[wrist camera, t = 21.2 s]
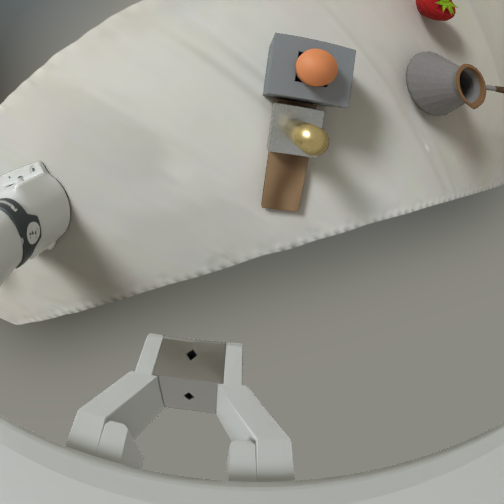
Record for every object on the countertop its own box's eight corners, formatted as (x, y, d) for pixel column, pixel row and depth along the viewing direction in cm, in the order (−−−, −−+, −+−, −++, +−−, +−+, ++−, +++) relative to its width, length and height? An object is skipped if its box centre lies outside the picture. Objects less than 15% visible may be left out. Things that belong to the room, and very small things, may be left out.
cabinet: (262, 95, 39) (267, 92, 30) (269, 47, 35) (275, 32, 26) (330, 106, 40) (352, 109, 31) (337, 60, 36) (360, 51, 27)
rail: (261, 204, 48) (261, 207, 46) (275, 98, 39) (276, 98, 38) (296, 208, 48) (298, 211, 47) (314, 105, 40) (316, 105, 38)
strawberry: (398, -5, 28) (427, -20, 19) (431, -1, 27) (462, -12, 18) (408, 23, 31) (440, 13, 22) (440, 26, 30) (473, 20, 21)
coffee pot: (403, 115, 40) (457, 126, 26) (393, 51, 34) (445, 40, 21) (485, 115, 38) (537, 130, 24) (478, 61, 32) (531, 64, 19)
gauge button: (283, 86, 37) (295, 81, 27) (287, 58, 35) (300, 44, 25) (313, 92, 37) (335, 89, 28) (317, 64, 35) (339, 53, 25)
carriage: (266, 147, 41) (275, 168, 29) (272, 102, 38) (284, 102, 26) (312, 154, 42) (339, 178, 30) (319, 110, 38) (351, 115, 26)
